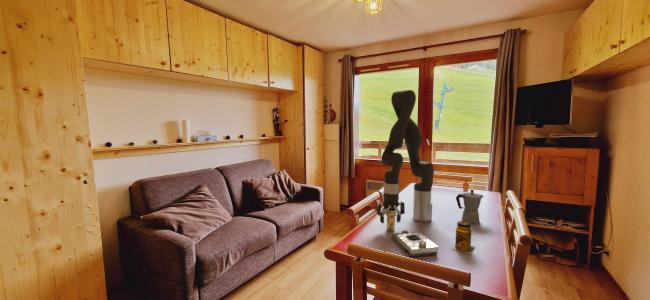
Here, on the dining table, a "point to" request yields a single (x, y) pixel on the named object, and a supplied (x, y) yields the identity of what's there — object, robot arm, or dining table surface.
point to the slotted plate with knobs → (415, 243)
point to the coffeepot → (470, 206)
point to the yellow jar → (463, 237)
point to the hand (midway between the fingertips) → (390, 222)
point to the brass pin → (391, 221)
